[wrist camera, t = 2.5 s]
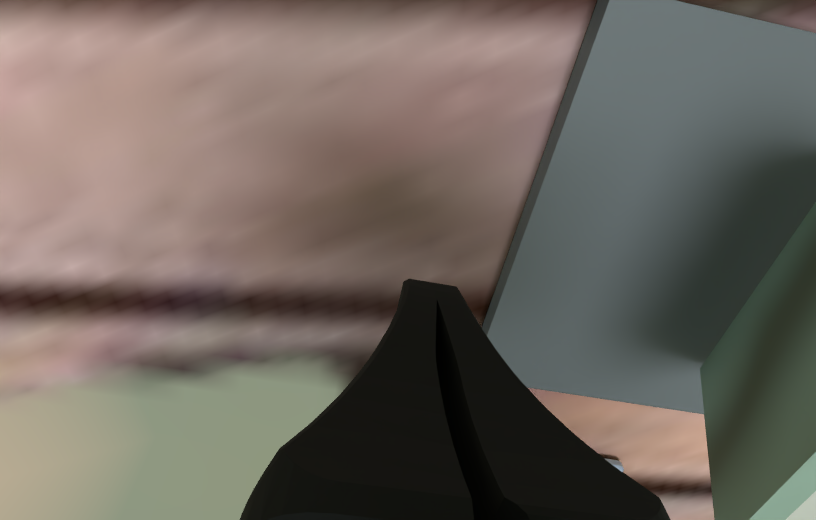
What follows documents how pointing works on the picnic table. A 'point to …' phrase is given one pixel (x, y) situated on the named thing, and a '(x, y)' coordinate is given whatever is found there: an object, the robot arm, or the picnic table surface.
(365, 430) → the robot arm
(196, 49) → the picnic table surface
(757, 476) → the tile
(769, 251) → the board
